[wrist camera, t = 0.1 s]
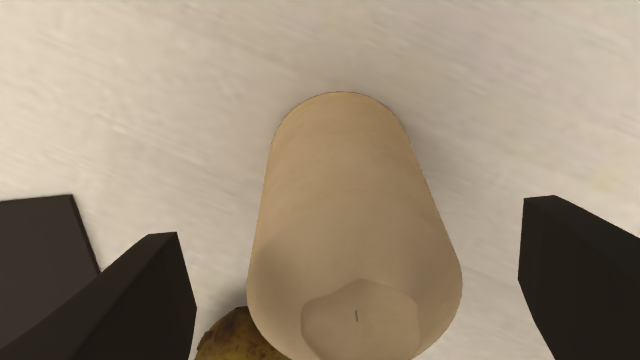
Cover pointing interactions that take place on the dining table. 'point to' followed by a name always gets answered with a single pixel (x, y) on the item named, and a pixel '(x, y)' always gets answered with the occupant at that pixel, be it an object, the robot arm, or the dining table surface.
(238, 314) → the potato
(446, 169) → the dining table surface
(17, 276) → the mat
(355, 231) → the candle
